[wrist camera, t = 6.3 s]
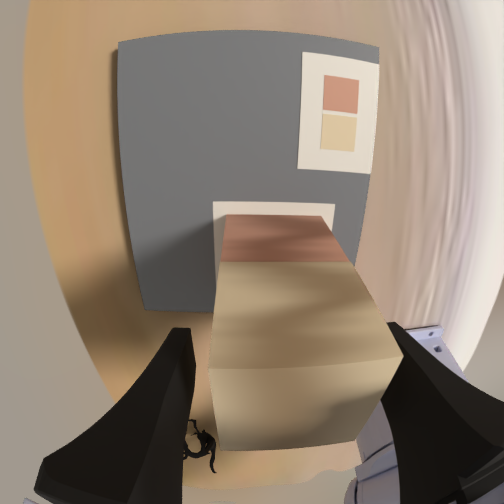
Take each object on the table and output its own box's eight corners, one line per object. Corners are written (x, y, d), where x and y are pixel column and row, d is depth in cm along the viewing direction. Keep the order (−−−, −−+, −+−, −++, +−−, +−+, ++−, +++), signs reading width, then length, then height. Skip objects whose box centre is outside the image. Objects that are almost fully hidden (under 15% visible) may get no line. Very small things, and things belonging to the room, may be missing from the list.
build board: (373, 49, 12) (379, 47, 11) (340, 302, 19) (344, 310, 19) (124, 44, 11) (118, 41, 11) (147, 302, 19) (144, 310, 18)
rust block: (321, 215, 16) (350, 263, 11) (310, 292, 18) (329, 352, 14) (226, 214, 15) (220, 263, 11) (228, 293, 18) (224, 355, 13)
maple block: (350, 261, 11) (403, 356, 7) (329, 351, 13) (354, 440, 9) (219, 261, 11) (207, 368, 7) (224, 354, 13) (220, 450, 9)
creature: (162, 430, 30) (225, 446, 29) (146, 465, 25) (214, 485, 24) (145, 395, 26) (220, 414, 25) (124, 436, 22) (205, 462, 20)
